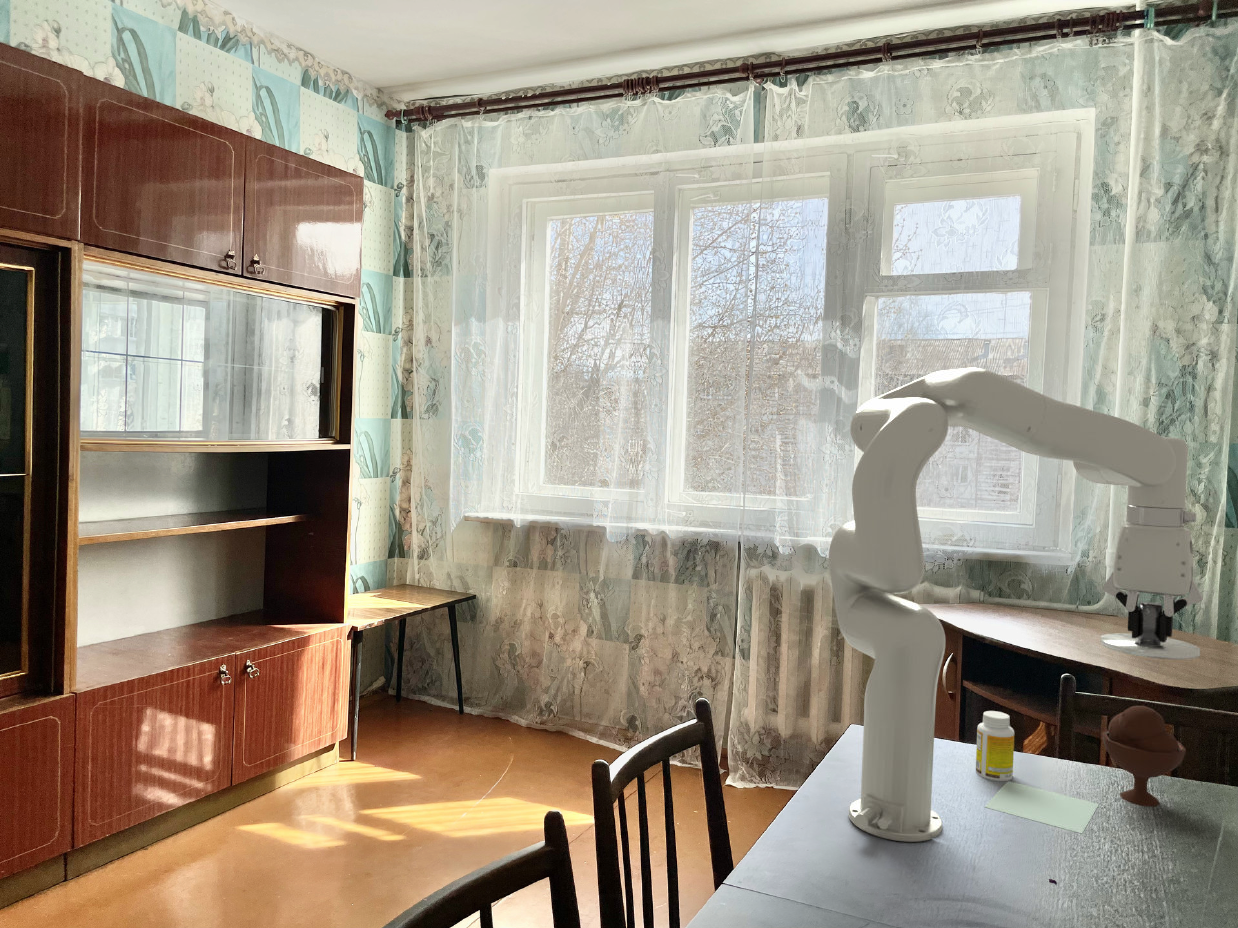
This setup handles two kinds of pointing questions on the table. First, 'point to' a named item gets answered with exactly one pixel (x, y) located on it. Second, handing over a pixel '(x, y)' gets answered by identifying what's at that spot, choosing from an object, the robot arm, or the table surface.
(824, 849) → the table surface
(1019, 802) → the mat
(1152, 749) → the ice cream bowl
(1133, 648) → the lid
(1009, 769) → the supplement bottle
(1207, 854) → the table surface
